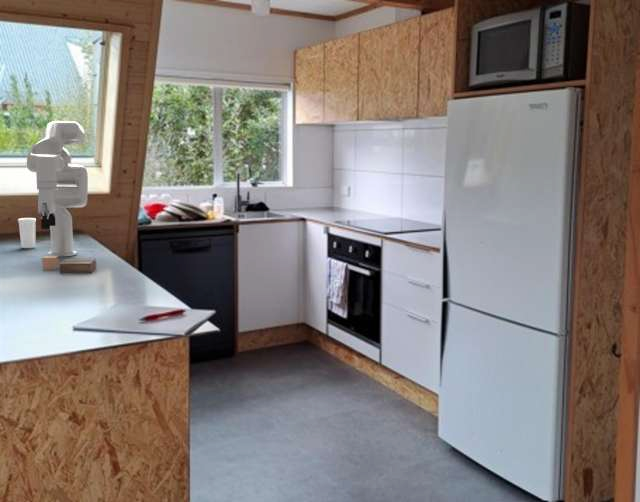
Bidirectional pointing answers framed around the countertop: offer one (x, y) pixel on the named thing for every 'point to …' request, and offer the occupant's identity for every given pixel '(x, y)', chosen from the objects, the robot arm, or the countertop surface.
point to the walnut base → (78, 265)
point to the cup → (27, 232)
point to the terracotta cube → (50, 262)
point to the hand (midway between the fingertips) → (48, 227)
